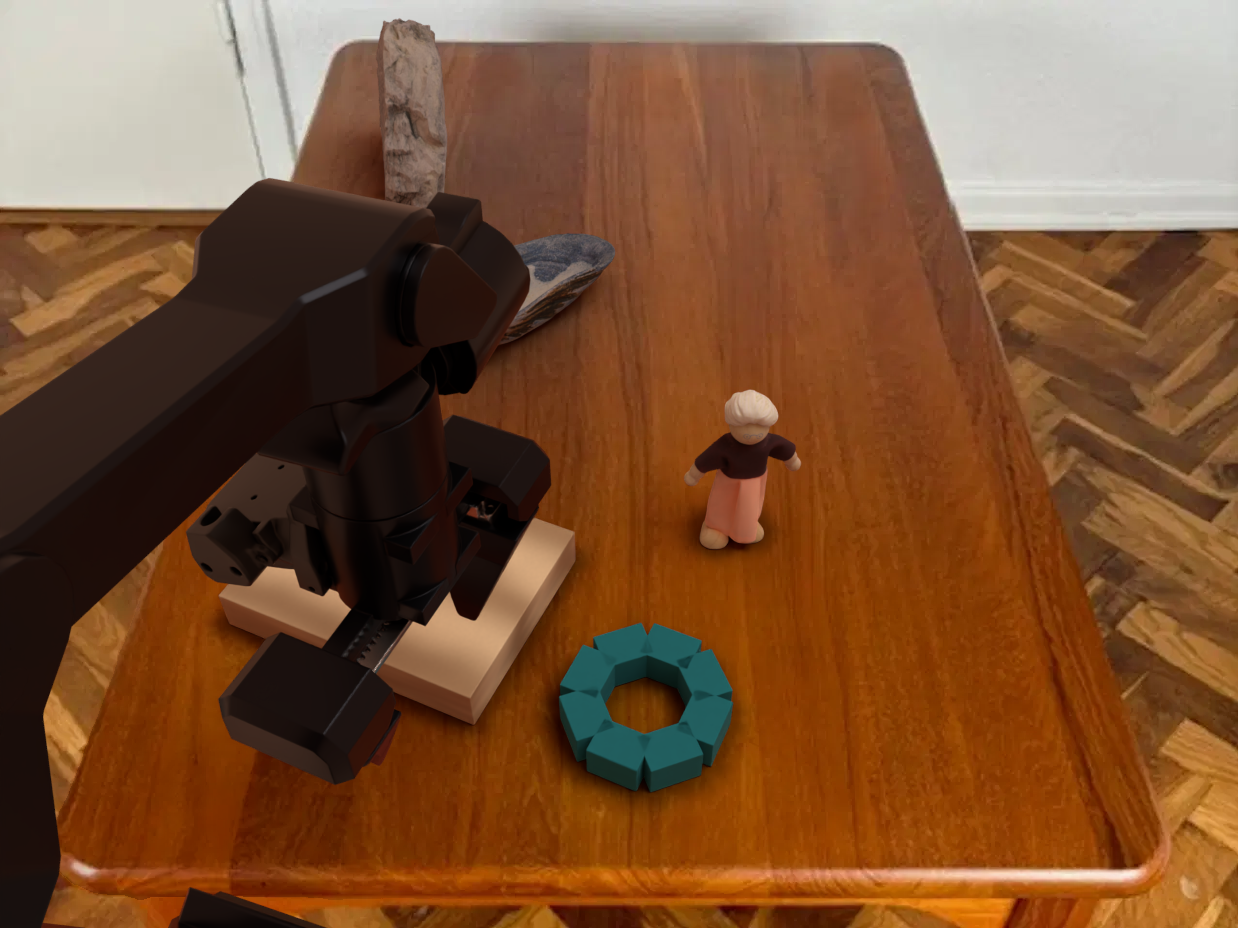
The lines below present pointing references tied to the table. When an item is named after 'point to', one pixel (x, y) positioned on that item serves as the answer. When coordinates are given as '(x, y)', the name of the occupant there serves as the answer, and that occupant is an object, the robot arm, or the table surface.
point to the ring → (660, 751)
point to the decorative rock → (411, 112)
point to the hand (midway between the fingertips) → (422, 684)
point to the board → (449, 644)
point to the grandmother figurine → (740, 470)
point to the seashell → (557, 276)
